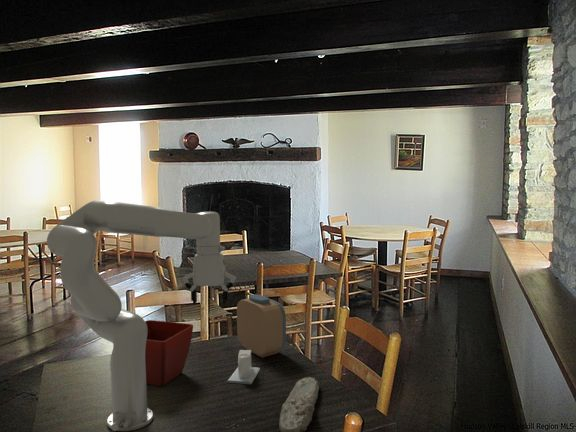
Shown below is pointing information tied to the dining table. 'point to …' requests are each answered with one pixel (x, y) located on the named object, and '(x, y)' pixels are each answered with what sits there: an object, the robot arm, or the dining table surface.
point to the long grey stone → (299, 406)
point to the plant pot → (166, 350)
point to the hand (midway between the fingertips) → (209, 302)
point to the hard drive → (236, 379)
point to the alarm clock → (261, 325)
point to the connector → (244, 364)
